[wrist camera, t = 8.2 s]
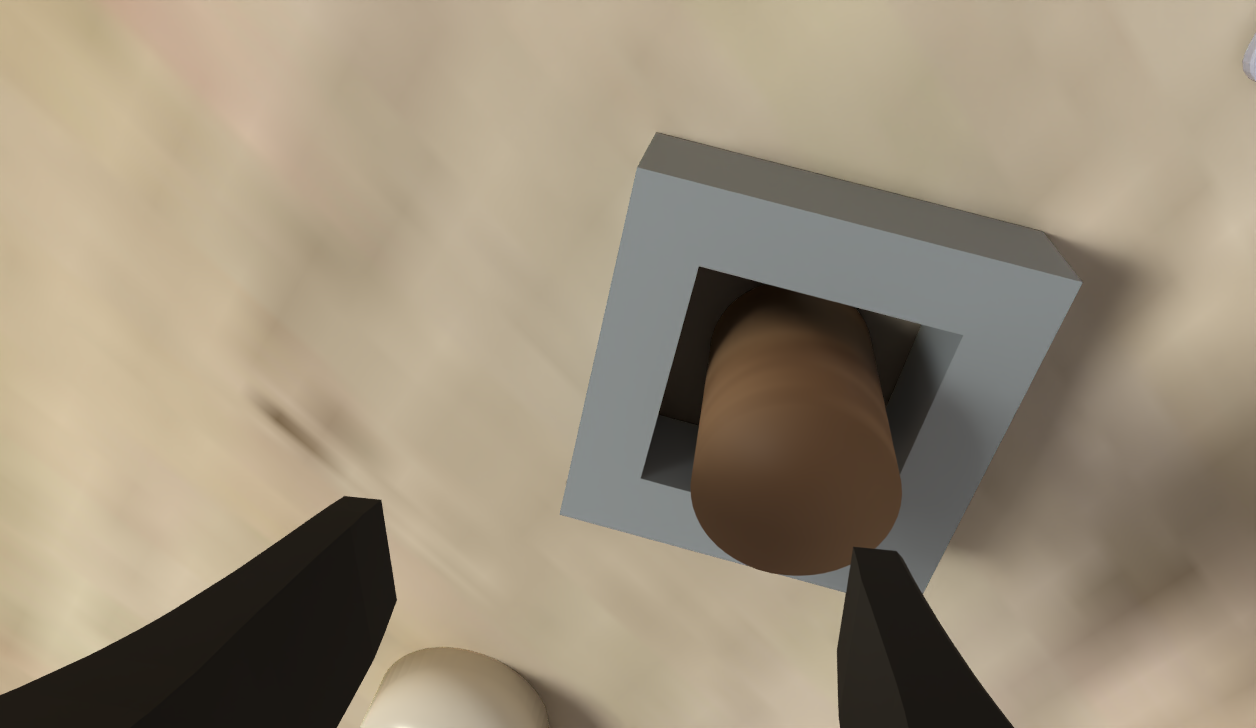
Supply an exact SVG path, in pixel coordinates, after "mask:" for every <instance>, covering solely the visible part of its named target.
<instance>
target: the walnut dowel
mask: <svg viewBox="0 0 1256 728" xmlns="http://www.w3.org/2000/svg"><path fill="white" fill-rule="evenodd" d="M690 486H691V500H692V506H693V509H694V512H695V515H696V517H697V519H698V521H699V523H700V525H701V527H702V529H703V530H704V531H705V533H706V534H707V536H708V537H709V538H710V539H711V540H712V541H713V542H714V543H715V544H716V545H717V546H718V547H719V548H720V549H721V550H723V551H724V552H725V553H726V554H728V555H729V556H731V557H733V558H734V559H736V560H738V561H740V562H741V563H743V564H745V565H748V566H750V567H753V568H755V569H758V570H762V571H765V572H769V573H774V574H780V575H791V576H806V575H816V574H823V573H827V572H831V571H835V570H838V569H841V568H843V567H846V566H849V565H850V564H851V558H852V551H853V547H862V548H872V549H875V548H876V547H877V546H879V544H880V543H881V542H882V541H883V540H884V539H885V538H886V537H887V535H888V534H889V532H890V531H891V529H892V528H893V526H894V523H895V521H896V519H897V517H898V514H899V510H900V507H901V500H902V483H901V478H900V474H899V469H898V464H897V460H896V455H895V450H894V446H893V441H892V436H891V432H890V427H889V422H888V418H887V413H886V408H885V404H884V399H883V394H882V390H881V385H880V380H879V376H878V371H877V366H876V362H875V357H874V352H873V348H872V343H871V339H870V334H869V331H868V328H867V326H866V323H865V321H864V320H863V318H862V316H861V314H860V313H859V312H858V311H857V309H856V308H855V307H853V306H849V305H845V304H842V303H838V302H834V301H830V300H826V299H822V298H819V297H815V296H811V295H807V294H803V293H799V292H796V291H792V290H788V289H784V288H780V287H777V286H773V285H769V284H765V285H762V286H759V287H756V288H754V289H752V290H750V291H748V292H746V293H745V294H743V295H742V296H741V297H739V298H738V299H736V300H735V301H734V302H733V303H732V304H731V305H730V306H729V307H728V308H727V309H726V311H725V312H724V313H723V315H722V316H721V318H720V319H719V321H718V323H717V325H716V327H715V329H714V333H713V336H712V340H711V347H710V354H709V361H708V368H707V375H706V381H705V388H704V395H703V402H702V409H701V416H700V423H699V429H698V436H697V443H696V450H695V457H694V464H693V470H692V477H691V485H690Z"/></svg>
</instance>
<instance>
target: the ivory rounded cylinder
mask: <svg viewBox="0 0 1256 728" xmlns="http://www.w3.org/2000/svg"><path fill="white" fill-rule="evenodd" d="M360 728H549V723H548V716H547V712H546V709H545V706H544V704H543V702H542V700H541V698H540V697H539V695H538V694H537V692H536V691H535V690H534V688H533V687H532V686H531V685H530V684H529V683H528V682H527V681H526V680H525V679H524V678H523V677H522V676H521V675H519V674H518V673H517V672H515V671H514V670H513V669H511V668H510V667H508V666H506V665H505V664H503V663H501V662H499V661H497V660H495V659H493V658H491V657H488V656H486V655H483V654H480V653H477V652H473V651H469V650H465V649H459V648H450V647H436V648H427V649H423V650H419V651H415V652H413V653H410V654H408V655H406V656H404V657H402V658H401V659H399V660H398V661H397V662H395V663H394V664H393V665H392V666H391V667H390V668H389V669H388V671H387V672H386V674H385V676H384V677H383V680H382V682H381V684H380V686H379V688H378V690H377V692H376V694H375V697H374V699H373V701H372V703H371V705H370V707H369V709H368V711H367V713H366V716H365V718H364V720H363V722H362V724H361V726H360Z"/></svg>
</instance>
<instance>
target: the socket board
mask: <svg viewBox="0 0 1256 728" xmlns="http://www.w3.org/2000/svg"><path fill="white" fill-rule="evenodd" d="M699 266H700V267H704V268H708V269H712V270H715V271H719V272H723V273H727V274H731V275H735V276H738V277H742V278H746V279H750V280H754V281H757V282H761V283H765V284H769V285H773V286H777V287H780V288H784V289H788V290H792V291H796V292H799V293H803V294H807V295H811V296H815V297H819V298H822V299H826V300H830V301H834V302H838V303H842V304H845V305H849V306H853V307H857V308H861V309H864V310H868V311H872V312H876V313H880V314H884V315H887V316H891V317H895V318H899V319H903V320H907V321H910V322H914V323H918V324H922V325H921V327H920V329H919V332H918V334H917V336H916V339H915V341H914V343H913V346H912V348H911V350H910V353H909V355H908V358H907V360H906V362H905V365H904V367H903V369H902V372H901V374H900V376H899V379H898V381H897V383H896V386H895V388H894V390H893V393H892V395H891V397H890V400H889V402H888V405H887V407H886V413H887V418H888V422H889V427H890V432H891V436H892V441H893V446H894V450H895V455H896V460H897V464H898V469H899V474H900V478H901V483H902V500H901V507H900V510H899V514H898V517H897V519H896V521H895V523H894V526H893V528H892V529H891V531H890V532H889V534H888V535H887V537H886V538H885V539H884V540H883V541H882V542H881V543H880V544H879V546H877V547H876V548H875V549H882V550H893V551H897V552H898V553H899V554H900V555H901V557H902V558H903V559H904V561H905V563H906V565H907V567H908V569H909V571H910V573H911V574H912V576H913V578H914V580H915V582H916V584H917V585H918V587H919V589H920V591H921V592H922V594H923V593H924V591H925V589H926V587H927V585H928V583H929V581H930V579H931V577H932V575H933V573H934V571H935V569H936V567H937V565H938V563H939V561H940V559H941V558H942V556H943V554H944V552H945V550H946V548H947V546H948V544H949V542H950V540H951V538H952V536H953V534H954V532H955V530H956V528H957V526H958V524H959V522H960V521H961V519H962V517H963V515H964V513H965V511H966V509H967V507H968V505H969V503H970V501H971V499H972V497H973V495H974V493H975V491H976V489H977V487H978V485H979V483H980V482H981V480H982V478H983V476H984V474H985V472H986V470H987V468H988V466H989V464H990V462H991V460H992V458H993V456H994V454H995V452H996V450H997V448H998V446H999V445H1000V443H1001V441H1002V439H1003V437H1004V435H1005V433H1006V431H1007V429H1008V427H1009V425H1010V423H1011V421H1012V419H1013V417H1014V415H1015V413H1016V411H1017V409H1018V408H1019V406H1020V404H1021V402H1022V400H1023V398H1024V396H1025V394H1026V392H1027V390H1028V388H1029V386H1030V384H1031V382H1032V380H1033V378H1034V376H1035V374H1036V372H1037V370H1038V369H1039V367H1040V365H1041V363H1042V361H1043V359H1044V357H1045V355H1046V353H1047V351H1048V349H1049V347H1050V345H1051V343H1052V341H1053V339H1054V337H1055V335H1056V333H1057V332H1058V330H1059V328H1060V326H1061V324H1062V322H1063V320H1064V318H1065V316H1066V314H1067V312H1068V310H1069V308H1070V306H1071V304H1072V302H1073V300H1074V298H1075V296H1076V295H1077V293H1078V291H1079V289H1080V287H1081V285H1082V283H1083V282H1082V281H1081V279H1080V278H1079V277H1078V276H1077V274H1076V273H1075V272H1074V270H1073V269H1072V268H1071V267H1070V265H1069V264H1068V263H1067V262H1066V260H1065V259H1064V258H1063V256H1062V255H1061V254H1060V253H1059V251H1058V250H1057V249H1056V248H1055V246H1054V245H1053V244H1052V242H1051V241H1050V240H1049V239H1048V237H1047V236H1046V235H1045V233H1044V232H1042V231H1039V230H1035V229H1031V228H1027V227H1023V226H1019V225H1015V224H1011V223H1007V222H1003V221H1000V220H996V219H992V218H988V217H984V216H980V215H976V214H972V213H968V212H964V211H961V210H957V209H953V208H949V207H945V206H941V205H937V204H933V203H929V202H926V201H922V200H918V199H914V198H910V197H906V196H902V195H898V194H894V193H890V192H887V191H883V190H879V189H875V188H871V187H867V186H863V185H859V184H855V183H851V182H848V181H844V180H840V179H836V178H832V177H828V176H824V175H820V174H816V173H813V172H809V171H805V170H801V169H797V168H793V167H789V166H785V165H781V164H777V163H774V162H770V161H766V160H762V159H758V158H754V157H750V156H746V155H742V154H738V153H735V152H731V151H727V150H723V149H719V148H715V147H711V146H707V145H703V144H700V143H696V142H692V141H688V140H684V139H680V138H676V137H672V136H668V135H664V134H661V133H657V132H656V134H655V136H654V137H653V139H652V141H651V143H650V145H649V147H648V148H647V150H646V152H645V154H644V156H643V158H642V159H641V161H640V163H639V165H638V167H637V171H636V175H635V179H634V184H633V188H632V193H631V197H630V202H629V206H628V211H627V215H626V220H625V224H624V229H623V233H622V238H621V242H620V247H619V251H618V256H617V260H616V265H615V269H614V273H613V278H612V282H611V287H610V291H609V296H608V300H607V305H606V309H605V314H604V318H603V323H602V327H601V332H600V336H599V341H598V345H597V350H596V354H595V358H594V363H593V367H592V372H591V376H590V381H589V385H588V390H587V394H586V399H585V403H584V408H583V412H582V417H581V421H580V426H579V430H578V435H577V439H576V443H575V448H574V452H573V457H572V461H571V466H570V470H569V475H568V479H567V484H566V488H565V493H564V497H563V502H562V506H561V511H560V515H563V516H567V517H570V518H574V519H578V520H581V521H585V522H589V523H592V524H596V525H600V526H603V527H607V528H611V529H614V530H618V531H622V532H625V533H629V534H633V535H636V536H640V537H644V538H647V539H651V540H655V541H658V542H662V543H666V544H669V545H673V546H677V547H680V548H684V549H688V550H691V551H695V552H699V553H702V554H706V555H710V556H713V557H717V558H721V559H724V560H728V561H732V562H735V563H739V564H742V565H745V564H743V563H741V562H740V561H738V560H736V559H734V558H733V557H731V556H729V555H728V554H726V553H725V552H724V551H723V550H721V549H720V548H719V547H718V546H717V545H716V544H715V543H714V542H713V541H712V540H711V539H710V538H709V537H708V536H707V534H706V533H705V531H704V530H703V529H702V527H701V525H700V523H699V521H698V519H697V517H696V515H695V512H694V509H693V506H692V500H691V486H690V485H691V477H692V470H693V464H694V457H695V450H696V443H697V436H698V429H699V426H698V425H694V424H691V423H687V422H683V421H680V420H676V419H672V418H668V417H665V416H661V415H658V413H659V410H660V406H661V402H662V399H663V395H664V391H665V388H666V384H667V381H668V377H669V373H670V370H671V366H672V362H673V359H674V355H675V351H676V348H677V344H678V340H679V337H680V333H681V330H682V326H683V322H684V319H685V315H686V311H687V308H688V304H689V300H690V297H691V293H692V289H693V286H694V282H695V279H696V275H697V271H698V268H699ZM746 566H748V565H746ZM849 570H850V565H849V566H846V567H843V568H841V569H838V570H835V571H831V572H827V573H823V574H816V575H806V576H791V575H783V576H786V577H790V578H794V579H797V580H801V581H805V582H808V583H812V584H816V585H819V586H823V587H827V588H830V589H834V590H838V591H841V592H845V593H846V590H847V583H848V577H849ZM779 575H780V574H779Z"/></svg>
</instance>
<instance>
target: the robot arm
mask: <svg viewBox="0 0 1256 728" xmlns="http://www.w3.org/2000/svg"><path fill="white" fill-rule="evenodd" d="M1243 70H1244V72H1245V74H1246V75H1247V76H1248V78H1249V79H1251V80H1253V81H1255V82H1256V33H1255V35H1254V37H1253V39H1252V40H1251V42H1250V44H1249V46H1248V48H1247V50H1246V52H1245V55H1244V58H1243ZM396 601H397V598H396V592H395V585H394V579H393V572H392V566H391V560H390V553H389V547H388V540H387V534H386V527H385V521H384V515H383V508H382V502H381V500H377V499H367V498H357V497H347V496H344V497H343V498H341V499H339V500H338V501H336V502H335V503H333V504H331V505H330V506H328V507H327V508H325V509H324V510H323V511H321V512H320V513H318V514H317V515H315V516H314V517H312V518H311V519H310V520H308V521H307V522H305V523H304V524H302V525H301V526H300V527H298V528H297V529H295V530H294V531H292V532H291V533H290V534H288V535H287V536H285V537H284V538H282V539H281V540H280V541H278V542H277V543H275V544H274V545H272V546H271V547H269V548H268V549H266V550H265V551H264V552H262V553H261V554H259V555H258V556H256V557H255V558H253V559H252V560H250V561H249V562H247V563H246V564H245V565H243V566H242V567H240V568H239V569H237V570H236V571H234V572H233V573H231V574H230V575H228V576H226V577H225V578H223V579H222V580H220V581H218V582H217V583H215V584H214V585H212V586H211V587H209V588H207V589H206V590H204V591H203V592H201V593H199V594H198V595H196V596H195V597H193V598H191V599H190V600H188V601H187V602H185V603H183V604H182V605H180V606H179V607H177V608H176V609H174V610H172V611H171V612H169V613H167V614H165V615H164V616H162V617H160V618H159V619H157V620H155V621H153V622H151V623H150V624H148V625H146V626H144V627H143V628H141V629H139V630H137V631H135V632H133V633H131V634H130V635H128V636H126V637H124V638H122V639H120V640H118V641H116V642H114V643H112V644H111V645H109V646H107V647H105V648H103V649H101V650H99V651H97V652H95V653H93V654H91V655H89V656H87V657H85V658H82V659H80V660H78V661H76V662H74V663H72V664H69V665H67V666H65V667H63V668H61V669H58V670H56V671H54V672H52V673H50V674H48V675H45V676H43V677H41V678H39V679H37V680H34V681H32V682H30V683H28V684H26V685H23V686H21V687H19V688H17V689H14V690H12V691H9V692H7V693H5V694H2V695H0V728H337V726H338V724H339V723H340V721H341V719H342V717H343V715H344V714H345V712H346V710H347V708H348V706H349V705H350V703H351V701H352V699H353V697H354V695H355V694H356V692H357V690H358V688H359V686H360V684H361V682H362V681H363V679H364V677H365V675H366V673H367V671H368V669H369V668H370V666H371V664H372V662H373V660H374V658H375V655H376V653H377V650H378V648H379V646H380V643H381V641H382V638H383V636H384V633H385V631H386V628H387V625H388V623H389V620H390V617H391V614H392V612H393V609H394V606H395V604H396ZM837 673H838V708H839V722H840V728H1014V727H1013V726H1012V724H1011V723H1010V722H1009V721H1008V719H1007V718H1006V717H1005V715H1004V714H1003V713H1002V711H1001V710H1000V709H999V708H998V706H997V705H996V704H995V702H994V701H993V700H992V698H991V697H990V696H989V694H988V693H987V692H986V690H985V689H984V688H983V686H982V685H981V683H980V682H979V681H978V679H977V678H976V676H975V675H974V674H973V672H972V671H971V669H970V668H969V666H968V665H967V663H966V662H965V660H964V659H963V657H962V656H961V654H960V653H959V651H958V650H957V649H956V647H955V646H954V644H953V643H952V641H951V640H950V638H949V637H948V635H947V633H946V632H945V630H944V629H943V627H942V626H941V624H940V622H939V621H938V619H937V618H936V616H935V614H934V613H933V611H932V609H931V608H930V606H929V604H928V603H927V601H926V599H925V598H924V596H923V594H922V592H921V591H920V589H919V587H918V585H917V584H916V582H915V580H914V578H913V576H912V574H911V573H910V571H909V569H908V567H907V565H906V563H905V561H904V559H903V558H902V557H901V555H900V554H899V553H898V552H897V551H893V550H882V549H872V548H862V547H853V551H852V558H851V564H850V570H849V577H848V583H847V590H846V596H845V603H844V609H843V615H842V622H841V628H840V635H839V641H838V647H837Z"/></svg>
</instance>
